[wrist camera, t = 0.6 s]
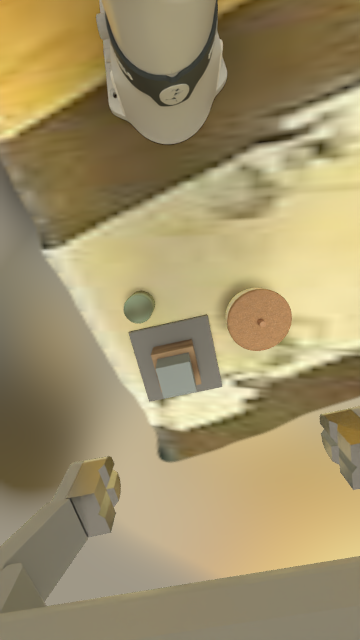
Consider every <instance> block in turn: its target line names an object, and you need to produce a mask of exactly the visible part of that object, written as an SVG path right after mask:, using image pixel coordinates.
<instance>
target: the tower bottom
mask: <svg viewBox="0 0 360 640" xmlns="http://www.w3.org/2000/svg"><path fill="white" fill-rule="evenodd" d="M188 352H189V356H190V360H191V364H192V368H193V372H194V377H195V381H196V385H199V384H201V377H200V372H199V368H198V363H197V359H196V355H195V350H194V346H193V342H192V339H189V340H184V341H180V342H175V343H170V344H166V345H161V346H157V347H153V350H152V353H151V357H152V361H153V364H154V368H155V371H156V364H157V359H160V358H165V357H169V356H174V355H179V354H183V353H188ZM156 375H157V373H156ZM157 378H158V376H157ZM158 382H159V380H158ZM159 385H160V383H159ZM160 389H161V387H160ZM161 392H162V390H161Z"/></svg>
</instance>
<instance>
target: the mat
mask: <svg viewBox="0 0 360 640" xmlns="http://www.w3.org/2000/svg"><path fill="white" fill-rule="evenodd" d="M129 336H130V339H131V343H132V346H133V349H134V353H135V356H136V359H137V363H138V366H139V369H140V372H141V376H142V379H143V382H144V386H145V389H146V392H147V396H148V399H149V402H150V401H155V400H160V399H164V397H163V394H162V392H161V389H160V385H159V382H158V378H157V375H156V371H155V368H154V364H153V361H152V357H151V353H152V350H153V347H157V346H161V345H166V344H170V343H175V342H180V341H184V340H189V339H192V342H193V346H194V350H195V355H196V359H197V363H198V368H199V372H200V377H201V384H199V385H196V390H197V392H199V391H204V390H209V389H214V388H219V387H222V383H221V378H220V373H219V369H218V364H217V359H216V354H215V349H214V344H213V340H212V335H211V330H210V325H209V320H208V316H207V315H203V316H199V317H194V318H190V319H185V320H181V321H176V322H172V323H167V324H163V325H158V326H154V327H149V328H145V329H140V330H136V331H131V332H129Z"/></svg>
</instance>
